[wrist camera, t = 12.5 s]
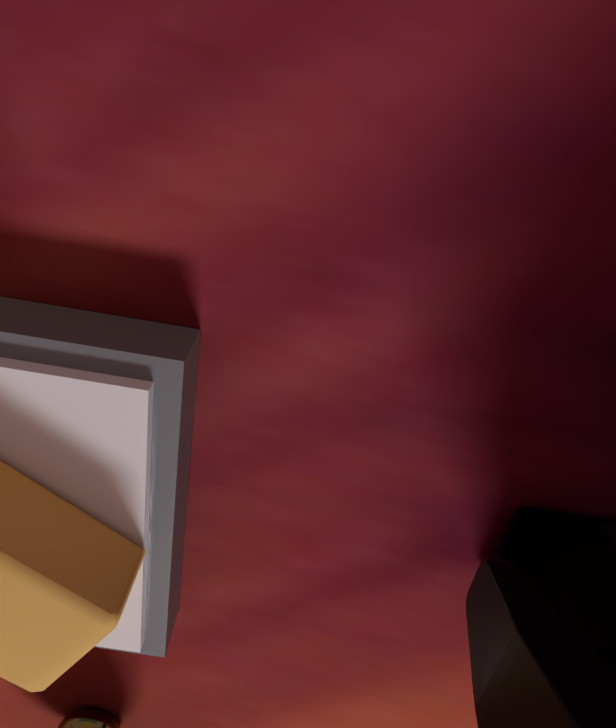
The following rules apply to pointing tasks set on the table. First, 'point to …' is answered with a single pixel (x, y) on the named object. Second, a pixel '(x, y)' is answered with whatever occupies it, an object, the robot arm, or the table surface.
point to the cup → (88, 719)
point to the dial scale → (107, 437)
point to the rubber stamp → (55, 581)
